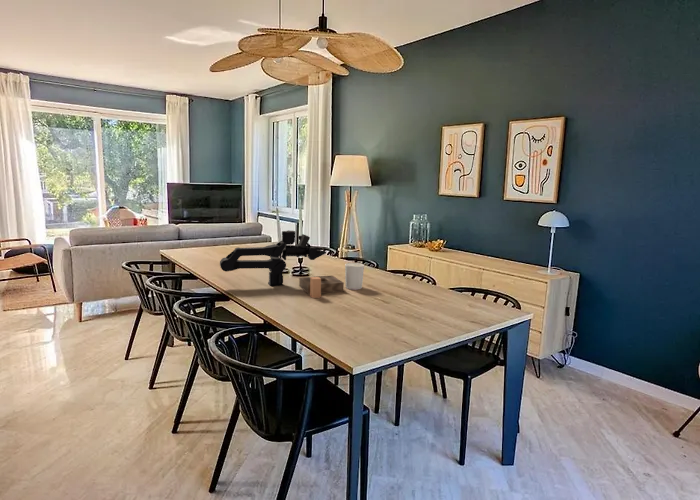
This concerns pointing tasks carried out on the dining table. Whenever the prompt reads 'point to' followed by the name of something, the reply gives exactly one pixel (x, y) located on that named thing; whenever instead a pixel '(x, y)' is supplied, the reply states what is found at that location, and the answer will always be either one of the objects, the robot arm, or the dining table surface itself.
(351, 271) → the candle holder
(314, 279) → the peg
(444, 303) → the dining table surface
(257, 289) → the dining table surface
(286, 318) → the dining table surface
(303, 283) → the socket block
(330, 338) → the dining table surface
